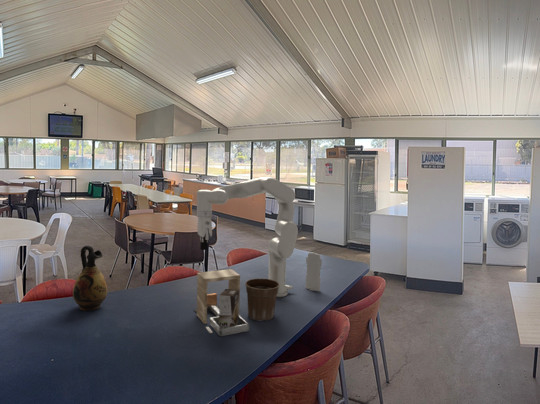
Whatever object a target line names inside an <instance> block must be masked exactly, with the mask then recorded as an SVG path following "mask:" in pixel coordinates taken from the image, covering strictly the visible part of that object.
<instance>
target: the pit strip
mask: <svg viewBox="0 0 540 404" xmlns="http://www.w3.org/2000/svg"><path fill="white" fill-rule="evenodd" d="M216 307H217V308H218V309H219V305H217V306H216ZM193 311H194V312H195V313H197V308H194V309H193ZM208 311H211V309H210V308H209V307H207V312H208Z"/></svg>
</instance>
